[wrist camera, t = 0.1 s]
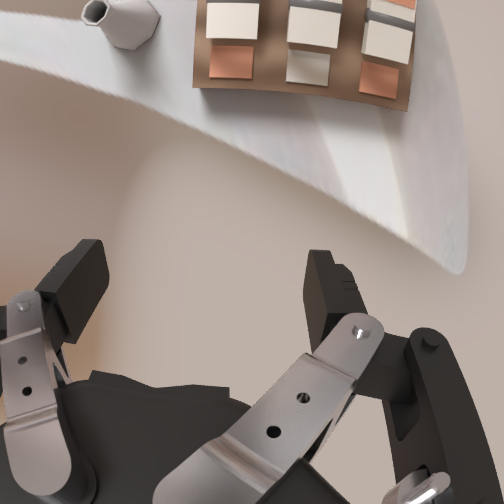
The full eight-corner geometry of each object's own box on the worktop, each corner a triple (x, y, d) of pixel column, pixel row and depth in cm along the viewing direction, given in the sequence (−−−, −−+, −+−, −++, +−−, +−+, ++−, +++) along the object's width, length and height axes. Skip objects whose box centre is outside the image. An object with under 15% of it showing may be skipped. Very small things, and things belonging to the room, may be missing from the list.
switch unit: (207, -31, 26) (201, -43, 22) (402, -5, 26) (417, -11, 23) (199, 87, 34) (192, 88, 31) (394, 108, 35) (408, 112, 31)
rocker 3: (367, -21, 22) (373, -23, 21) (412, -8, 22) (419, -9, 21) (359, 52, 28) (364, 53, 26) (403, 62, 28) (409, 65, 27)
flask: (170, 13, 29) (143, -5, 21) (135, 59, 32) (99, 56, 24) (128, -10, 27) (92, -29, 18) (95, 35, 30) (53, 29, 21)
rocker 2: (291, -35, 22) (292, -38, 21) (342, -27, 22) (346, -29, 21) (285, 41, 28) (286, 41, 26) (334, 47, 28) (338, 48, 26)
